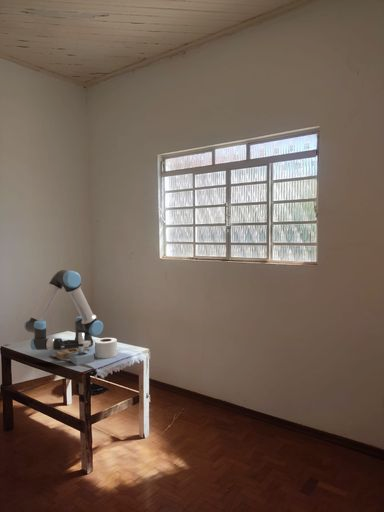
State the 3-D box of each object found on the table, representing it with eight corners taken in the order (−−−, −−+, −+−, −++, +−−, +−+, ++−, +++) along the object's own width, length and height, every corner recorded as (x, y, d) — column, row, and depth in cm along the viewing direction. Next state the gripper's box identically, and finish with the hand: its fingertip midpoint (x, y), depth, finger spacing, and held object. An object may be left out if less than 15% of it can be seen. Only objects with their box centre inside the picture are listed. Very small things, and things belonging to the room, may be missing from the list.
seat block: (86, 357, 258) (86, 350, 258) (94, 361, 249) (93, 354, 248) (69, 361, 250) (69, 353, 250) (77, 365, 241) (76, 357, 241)
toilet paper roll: (90, 355, 262) (90, 340, 262) (108, 350, 274) (108, 336, 274) (103, 359, 252) (103, 344, 252) (121, 354, 264) (121, 339, 263)
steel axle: (83, 357, 252) (82, 331, 251) (85, 359, 249) (85, 333, 248) (77, 359, 249) (77, 332, 249) (80, 360, 246) (79, 333, 246)
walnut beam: (83, 351, 272) (82, 346, 272) (88, 354, 264) (88, 349, 264) (55, 357, 259) (55, 351, 259) (61, 360, 251) (61, 354, 251)
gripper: (59, 346, 257) (92, 345, 257) (50, 353, 240) (86, 353, 240) (59, 335, 257) (92, 335, 257) (49, 341, 240) (85, 341, 240)
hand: (89, 343), depth 249 cm, fingers closed on steel axle, 4 cm apart
